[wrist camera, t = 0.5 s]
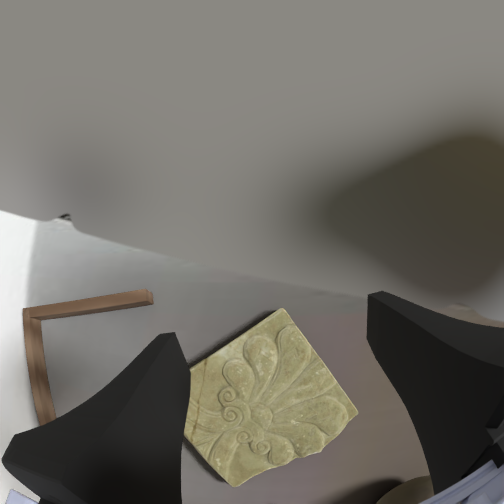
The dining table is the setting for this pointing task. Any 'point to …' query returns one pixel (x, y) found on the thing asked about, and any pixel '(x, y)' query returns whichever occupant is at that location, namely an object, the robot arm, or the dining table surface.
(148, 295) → the frame
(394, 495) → the cantaloupe
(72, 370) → the dining table surface
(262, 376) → the decorative tile
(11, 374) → the dining table surface
